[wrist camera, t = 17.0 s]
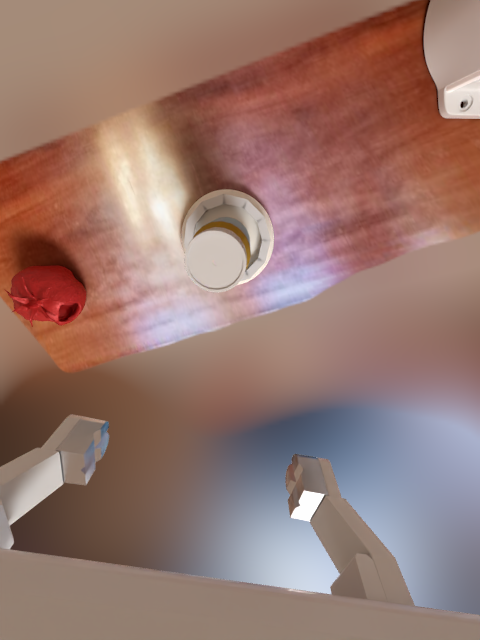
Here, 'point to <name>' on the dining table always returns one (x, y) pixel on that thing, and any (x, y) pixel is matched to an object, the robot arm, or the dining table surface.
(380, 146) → the dining table surface
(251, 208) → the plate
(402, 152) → the dining table surface
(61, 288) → the pomegranate
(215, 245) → the bottle
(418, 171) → the dining table surface
